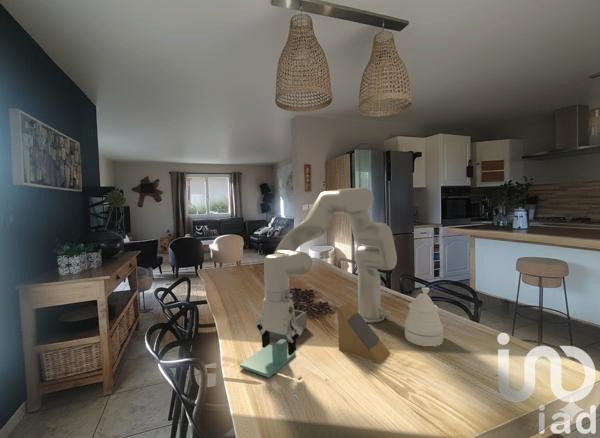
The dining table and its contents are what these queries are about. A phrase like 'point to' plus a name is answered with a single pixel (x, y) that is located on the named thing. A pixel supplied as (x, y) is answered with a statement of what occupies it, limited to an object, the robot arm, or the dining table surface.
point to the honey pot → (423, 322)
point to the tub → (301, 320)
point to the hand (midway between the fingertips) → (278, 349)
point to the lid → (268, 359)
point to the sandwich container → (359, 336)
